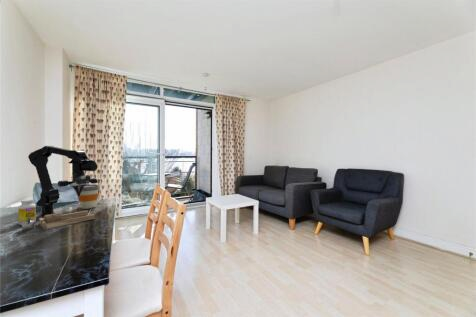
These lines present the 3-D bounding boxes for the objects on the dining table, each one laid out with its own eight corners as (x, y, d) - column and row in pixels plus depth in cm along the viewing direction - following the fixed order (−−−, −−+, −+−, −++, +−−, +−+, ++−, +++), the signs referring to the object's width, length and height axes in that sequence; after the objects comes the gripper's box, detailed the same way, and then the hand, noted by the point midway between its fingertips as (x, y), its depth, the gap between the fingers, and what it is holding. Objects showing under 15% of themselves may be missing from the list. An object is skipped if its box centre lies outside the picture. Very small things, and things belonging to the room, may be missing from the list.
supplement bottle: (24, 225, 110) (24, 201, 110) (15, 224, 111) (14, 201, 111) (39, 221, 117) (38, 198, 116) (30, 220, 118) (29, 198, 117)
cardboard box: (44, 224, 113) (44, 215, 112) (58, 221, 117) (58, 212, 117) (46, 227, 109) (46, 217, 109) (61, 224, 113) (61, 215, 113)
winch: (21, 229, 105) (21, 216, 105) (33, 226, 109) (33, 214, 109) (23, 232, 102) (22, 218, 101) (35, 229, 105) (35, 216, 105)
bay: (39, 223, 114) (39, 218, 114) (87, 214, 131) (87, 209, 131) (44, 229, 105) (44, 223, 105) (94, 218, 123) (94, 213, 122)
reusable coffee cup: (102, 206, 150) (102, 185, 149) (82, 210, 139) (81, 188, 139) (94, 203, 156) (93, 183, 156) (74, 207, 146) (73, 186, 145)
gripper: (61, 173, 115) (62, 200, 116) (100, 170, 130) (100, 195, 130) (57, 171, 122) (57, 197, 123) (94, 169, 137) (94, 193, 137)
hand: (78, 196), depth 128 cm, fingers closed
